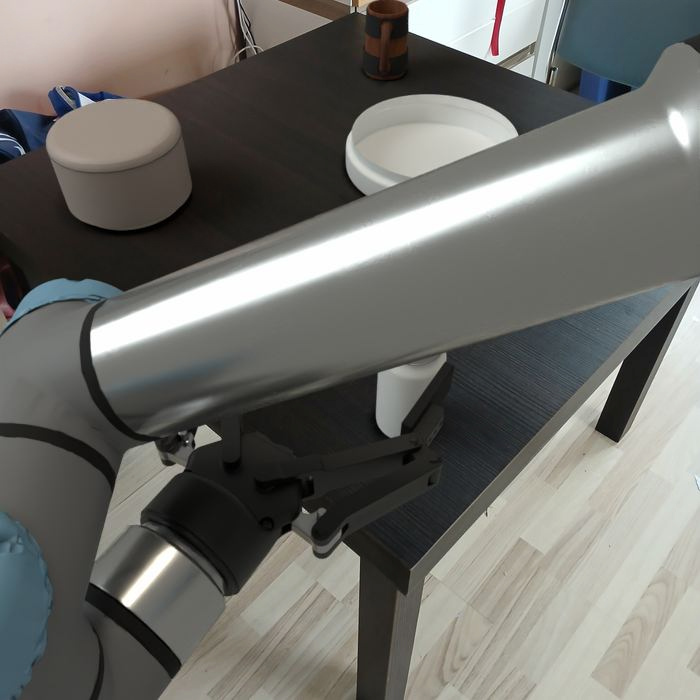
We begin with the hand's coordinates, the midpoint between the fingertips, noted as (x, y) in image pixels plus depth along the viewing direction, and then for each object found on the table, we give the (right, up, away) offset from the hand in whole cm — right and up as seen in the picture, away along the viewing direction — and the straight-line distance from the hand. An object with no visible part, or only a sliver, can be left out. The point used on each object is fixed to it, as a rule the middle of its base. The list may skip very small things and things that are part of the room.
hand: (368, 339), depth 51 cm
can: (+5, -8, +20) cm, 22 cm away
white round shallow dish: (+11, +28, +54) cm, 62 cm away
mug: (+5, +51, +75) cm, 91 cm away
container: (-34, +21, +47) cm, 62 cm away
